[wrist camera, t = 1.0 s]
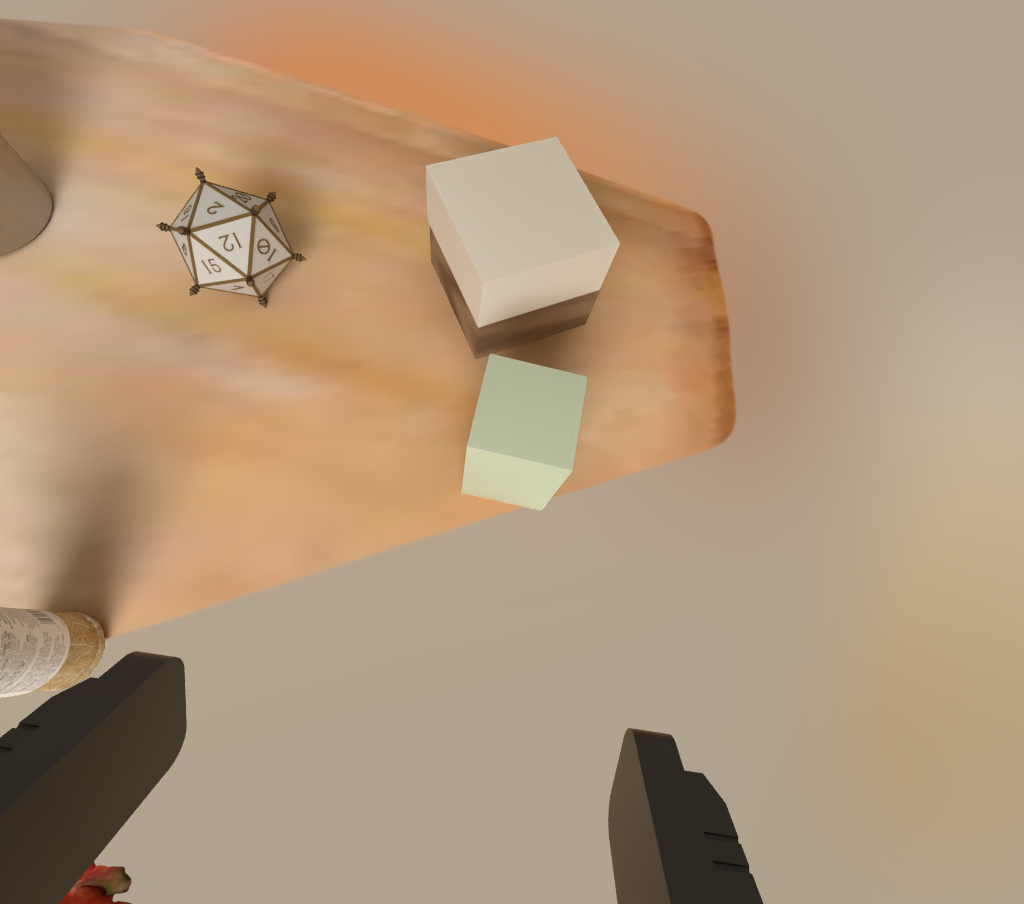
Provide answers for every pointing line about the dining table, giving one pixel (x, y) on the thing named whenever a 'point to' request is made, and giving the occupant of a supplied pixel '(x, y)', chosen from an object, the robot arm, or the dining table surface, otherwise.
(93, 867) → the dragon fruit
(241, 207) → the game die
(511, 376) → the sage block
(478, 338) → the tower bottom
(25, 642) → the sprinkles bottle
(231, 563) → the dining table surface
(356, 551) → the dining table surface
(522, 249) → the tower top
